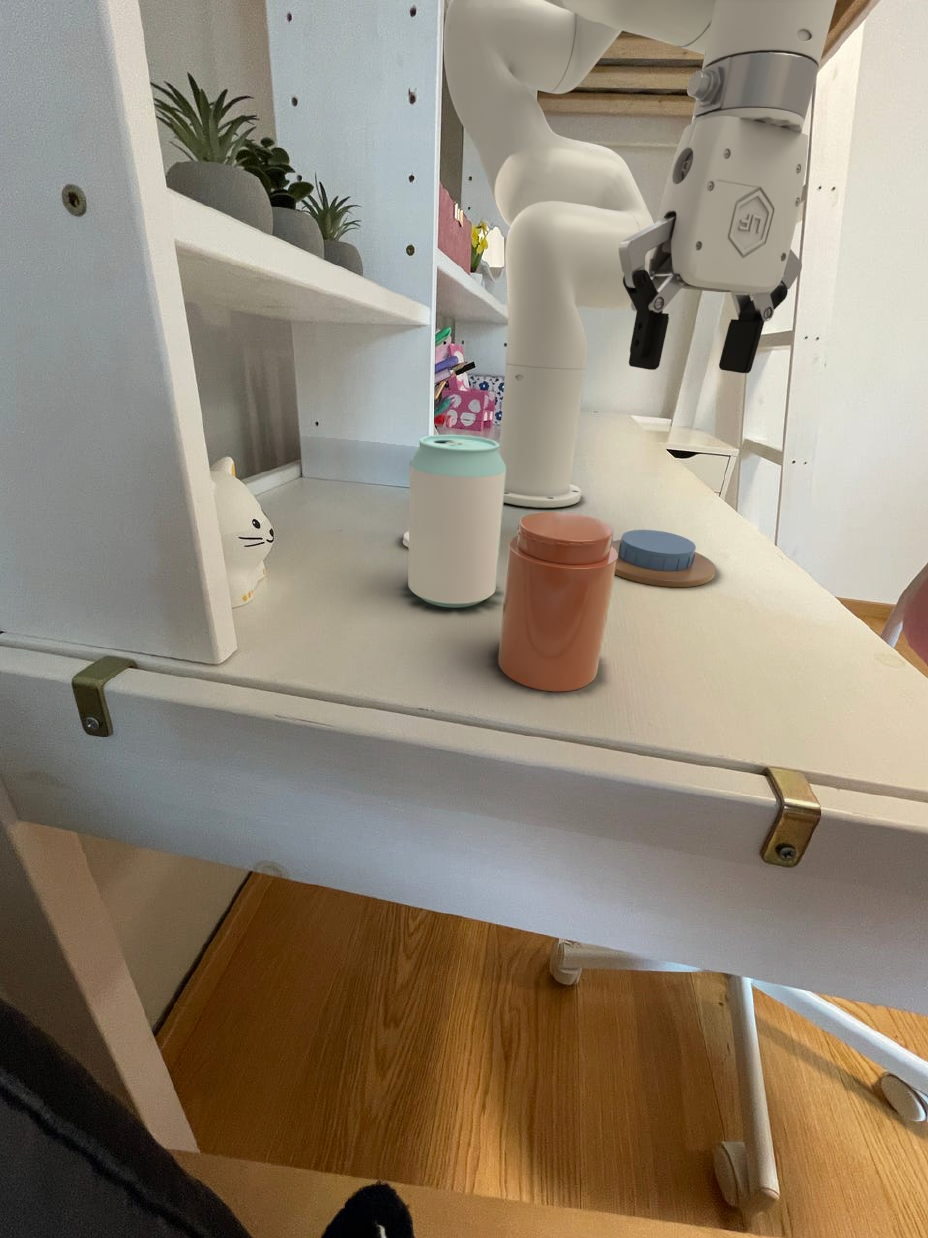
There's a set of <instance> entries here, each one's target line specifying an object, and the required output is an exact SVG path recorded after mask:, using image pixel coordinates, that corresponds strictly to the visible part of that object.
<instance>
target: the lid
mask: <svg viewBox="0 0 928 1238" xmlns="http://www.w3.org/2000/svg"><path fill="white" fill-rule="evenodd" d="M620 540H621V541H620V546H619V555H620V557H621V558H622V559H624V560H625V561H627V562H629V563H631V564H634V565H636V566H640V567H643V568H647V569H653V570H660V571H679V570H684V569H687V568H689V567H690V566H691V565H693V561H694V557H695V552H696V549H697V546H696V544H695V543H694V542H693V541H692V540H690V539H689V538H687V537H684V536H681V535H678V534H675V533H671V532H667V531H661V530H654V529H634V530H628V531H626V532H624V533H623V534H622V535H621V538H620Z"/></svg>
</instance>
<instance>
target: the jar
mask: <svg viewBox="0 0 928 1238" xmlns="http://www.w3.org/2000/svg"><path fill="white" fill-rule="evenodd" d="M516 532H517V535H516V536H514V537H512V539H511V540H509V543H508V550H507V562H506V572H505V582H504V593H503V603H502V604H503V606H502V615H501V625H500V637H499V645H498V657H497V661H498V665H499V668H500V669H501V671H502V672H503V674H505V675H506V676H507V677H508V678H509V679H511V680H512V681H514V682H516V683H518V684H520V685H522V686H526V687H527V688H531V689H535V690H539V691H540V690H541V691H544V692H545V691H546V692H569V691H570V692H571V691H575V690H580V689H582V688H584V687H587V686H588V685H590V684H591V683H592V682H593V681H594V680H595V679H596V676H597V675H598V668H599V663H600V658H601V653H602V646H603V642H604V641H603V640H604V635H605V630H606V626H607V625H606V624H607V619H608V615H609V614H608V613H609V609H610V603H611V597H612V592H613V586H614V581H615V577H616V575H615V571H616V566H617V560H618V553H617V551H616V550H615V549H614V548H613V547H612V546H611V544H612V541H613V538H614V529H613V527H612V526H611V525H610V524H608V523H606V522H605V521H602V520H600V519H599V518H598V519H597V518H594V517H591V516H587V515H583V514H577V513H573V512H572V513H571V512H563V511H561V512H560V511H547V512H545V511H544V512H543V511H542V512H536V513H531V514H527V515H525V516H523V517H522V518H521V519H520V521H519V524H518V526H517V528H516Z"/></svg>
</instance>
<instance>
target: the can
mask: <svg viewBox="0 0 928 1238" xmlns="http://www.w3.org/2000/svg"><path fill="white" fill-rule="evenodd" d="M418 442H419V443H418V444H419V448H418V449H417V451H415V453H414V455H413V456H412V458H411V459H410V462H409V497H408V498H409V501H408V503H409V505H408V509H409V510H408V512H409V513H408V531H409V548H408V574H407V575H408V576H407V577H408V579H407V585H408V586H407V587H408V588H409V590H410V591H411V592H412V593H413V594H414V595H416V596H417V597H418V598H420V599H421V600H423V601H424V602H427V603H428V604H431V605H434V606H438V607H444V608H466V607H471V606H475V605H477V604H479V603H480V604H481V602H483V601H484V600H487V599H488V598H490V597H491V596H492V595H494V594H495V592H496V589H497V579H498V569H499V557H500V545H501V535H502V531H501V530H502V523H503V512H504V502H503V501H504V489H505V478H506V465H505V464H504V462H503V460H502V458H501V456H500V454H499V443H500V442H498V441H496V440H494V439H491V438H486V437H481V436H476V435H466V434H431V435H426V436H422V437H421V438H419V440H418Z"/></svg>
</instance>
